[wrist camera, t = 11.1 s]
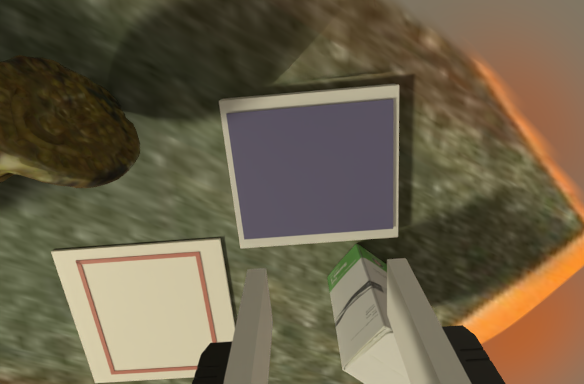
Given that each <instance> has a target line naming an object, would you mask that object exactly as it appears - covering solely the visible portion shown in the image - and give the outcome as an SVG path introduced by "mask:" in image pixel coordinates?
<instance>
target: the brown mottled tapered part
mask: <svg viewBox="0 0 584 384" xmlns="http://www.w3.org/2000/svg"><path fill="white" fill-rule="evenodd" d="M139 154H140V142H139V138H138V135H137V132H136V129H135V127H134V125H133V123H131V122H130V121H129V120H128V119H127V118H126V117H125V114H124V113H123V111H122V110H121V107H120V104H119V103H118V101H117V100H116V99H115V98H114V97H113V96H112V95H111V94H110V93H109V92H108V91H107V90H105V89H104V88H103V87H101V86H99V85H97V84H95V83H93V82H92V81H91V80H90V79H89V78H87V77H85V76H82V75H80V74H78V73H76V72H74V71H72V70H70V69H67V68H66V67H64V66H62V65H61V64H59V63H58V62H56V61H53V60H48V59H45V58H34V57H25V56H21V55H19V56H15V57H13V58H11V59H9V60H7V61H4V62H0V183H1V182H3V181H5V180H6V179H8V178H9V177H11V176H12V175H15V174H18V175H22V176H25V177H28V178H32V179H35V180H38V181H41V182H45V183H50V184H55V185H60V186H70V187H75V188H91V187H97V186H101V185H105V184H108V183H110V182H113V181H115V180H117V179H119V178H120V177H121V176H123V175H124V174H125V173H126V172H127V171H129V170H130V168H131V167H132V166H133V165H134V163H135V162H136V160H137V159H138V157H139Z"/></svg>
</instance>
